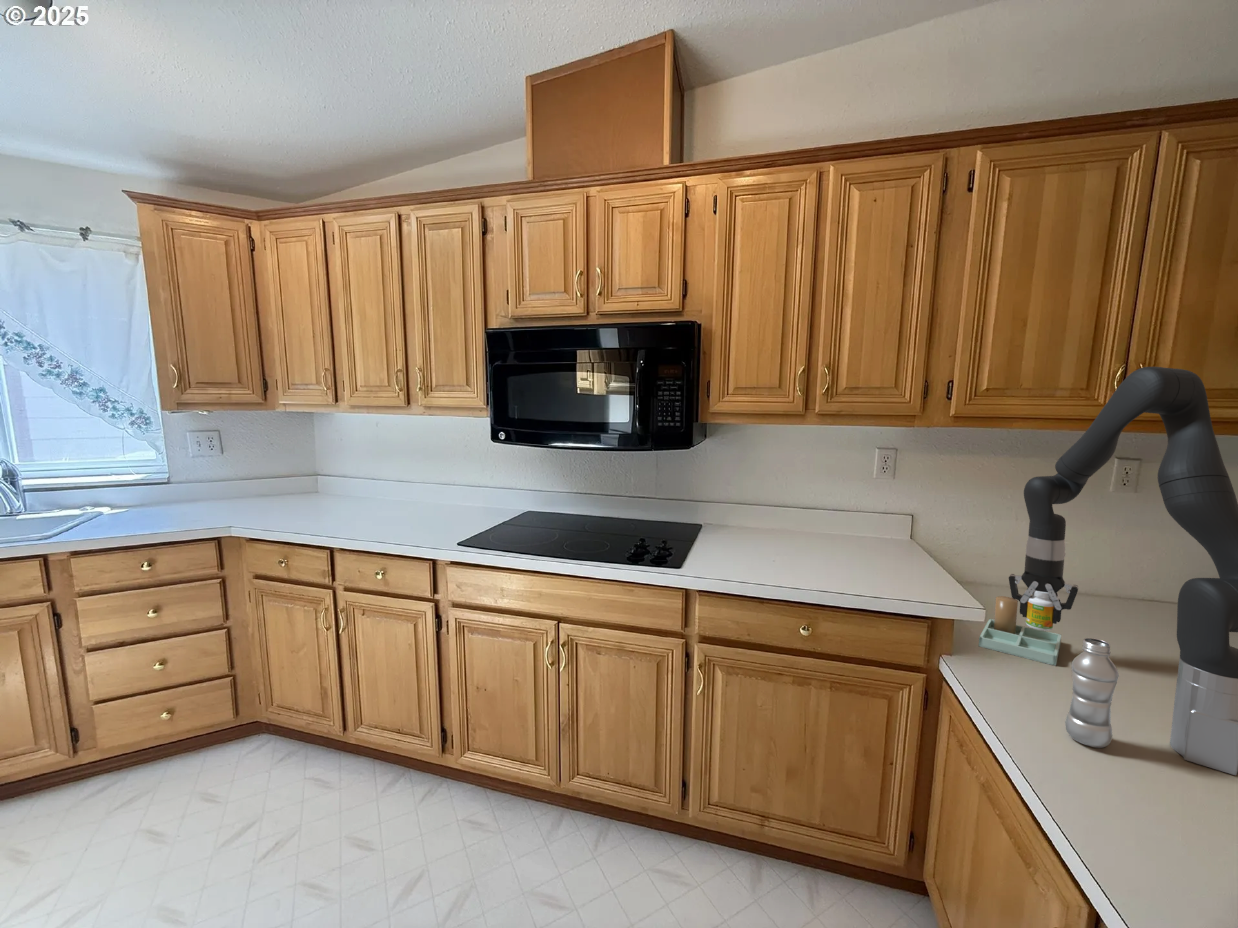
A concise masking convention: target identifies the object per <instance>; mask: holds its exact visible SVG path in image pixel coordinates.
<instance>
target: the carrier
mask: <svg viewBox="0 0 1238 928" xmlns="http://www.w3.org/2000/svg"><path fill="white" fill-rule="evenodd" d="M994 621H995V619H993V618H988V621H987V622H986V624H985V626H984V628H983V630H982V632H981V633H980V636H979V637H978V647H981V648H984V649H987V650H992V651H996V652H1000V653H1004V654H1007V655H1012V656H1015V657H1019V658H1022V659H1023V658H1024V659H1027V660H1031V661H1035V662H1039V663H1043V664H1048V665H1050V666H1055V667H1057V663H1058V659H1059V658H1058V657H1059V653H1060V648H1061V643H1062V634H1060V633H1056V632H1051V631H1042V630H1037V629H1033V628H1031V627H1029V626H1023V625H1019V624H1016V633H1015V634H1012V633H1007V632H1003V631H999V630H994Z"/></svg>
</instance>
